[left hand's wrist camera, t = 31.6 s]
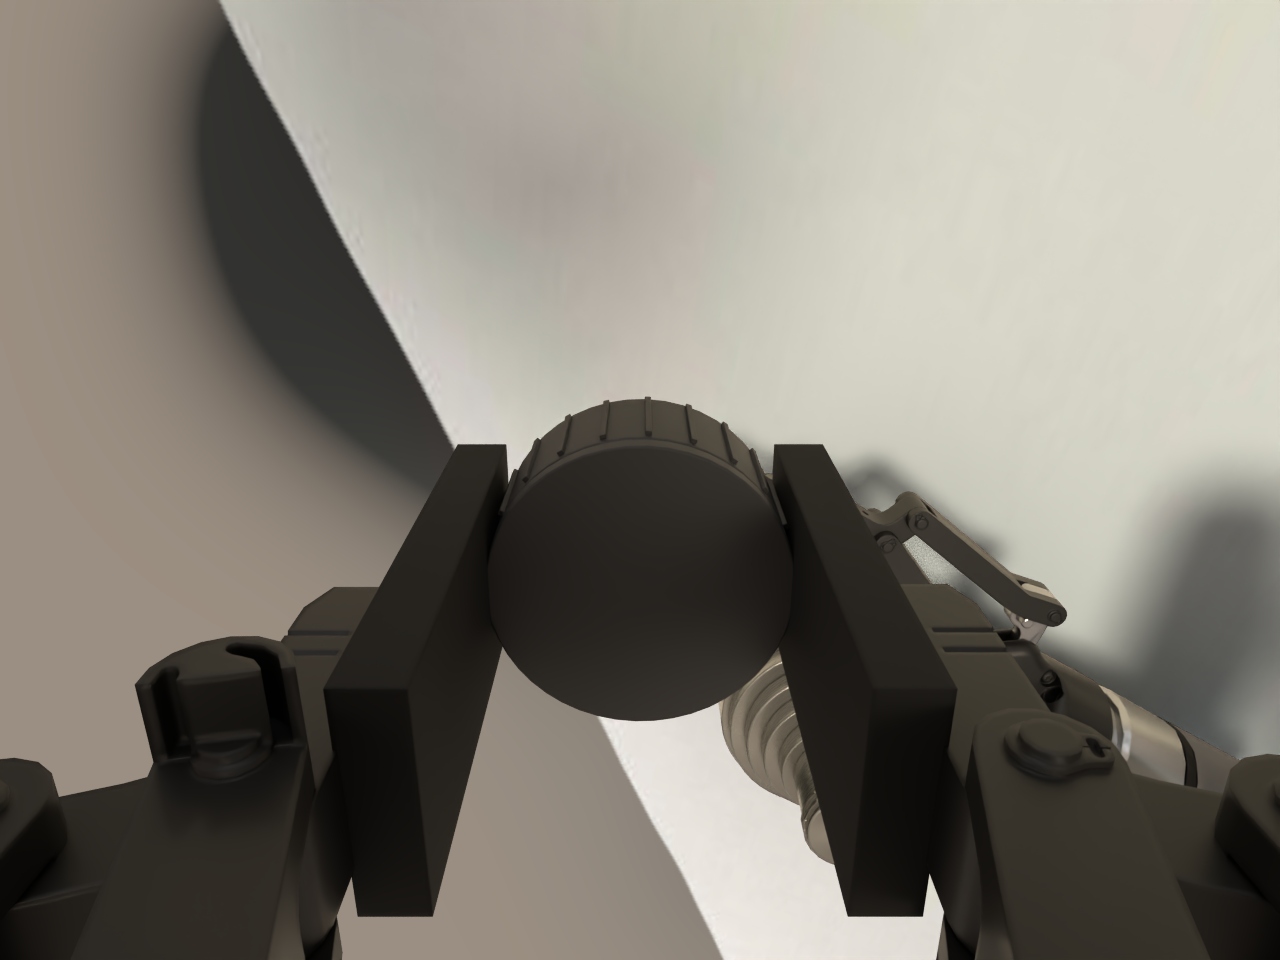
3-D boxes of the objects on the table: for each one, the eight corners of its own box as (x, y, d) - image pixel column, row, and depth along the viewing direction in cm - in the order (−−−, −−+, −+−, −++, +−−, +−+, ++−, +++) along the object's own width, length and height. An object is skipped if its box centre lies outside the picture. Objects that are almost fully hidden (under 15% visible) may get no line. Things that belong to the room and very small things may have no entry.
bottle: (669, 533, 52) (689, 826, 30) (774, 446, 50) (875, 695, 28) (756, 620, 54) (832, 953, 33) (860, 540, 52) (1014, 838, 31)
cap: (783, 633, 15) (804, 712, 13) (522, 654, 15) (504, 735, 13) (773, 382, 14) (796, 428, 12) (482, 408, 14) (455, 458, 12)
